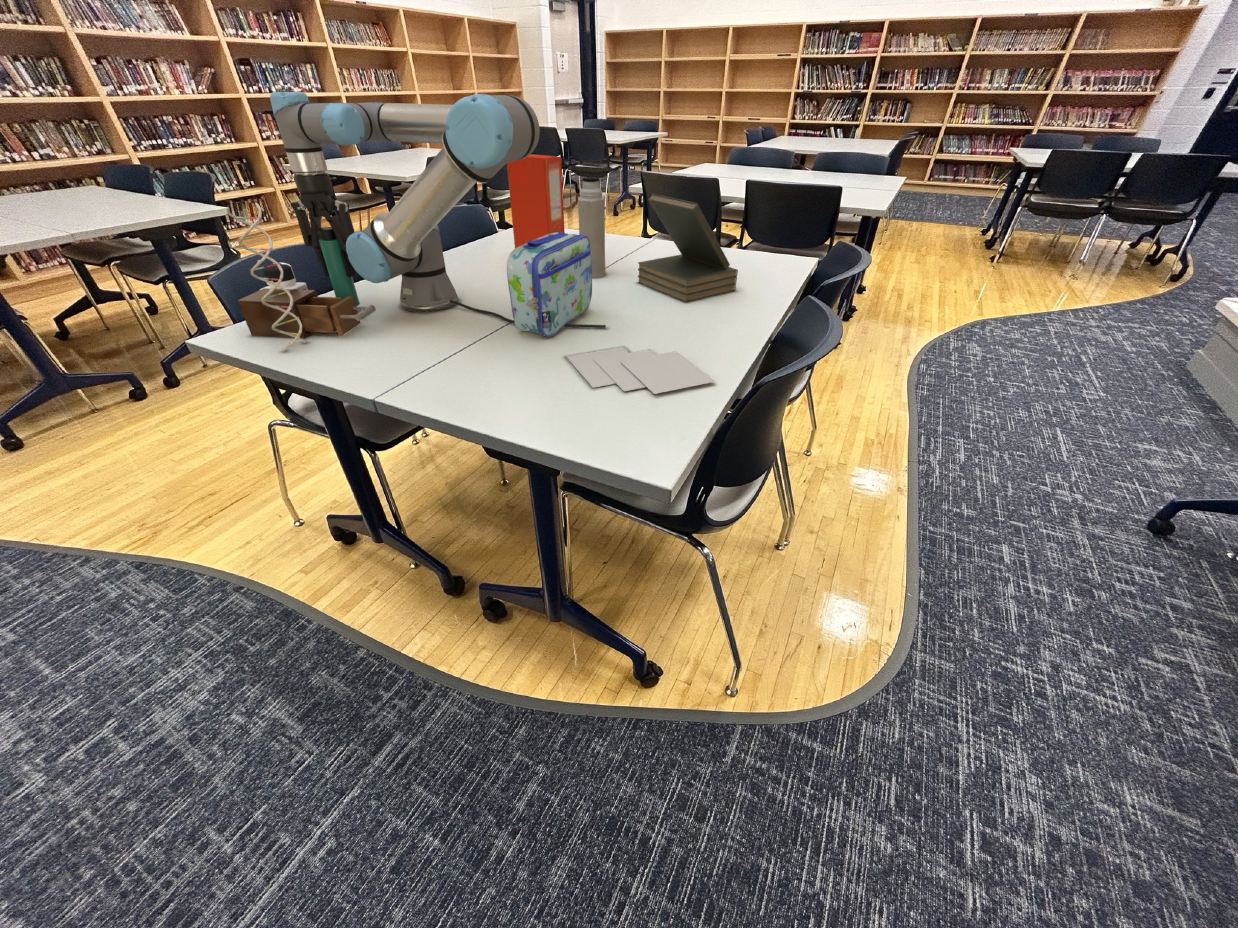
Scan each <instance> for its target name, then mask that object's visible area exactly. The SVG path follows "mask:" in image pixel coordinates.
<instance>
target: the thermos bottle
mask: <svg viewBox="0 0 1238 928" xmlns="http://www.w3.org/2000/svg"><path fill="white" fill-rule="evenodd" d="M599 182H600V178H599V177H596V176H586V177H585V176H584V177H582V188H581V189H580V190H579V197H578V198H577V208H578V209H577V210H578V212H577V213H578V235H579V234H584V235H586V236H587V237H588V239H589V243H590V251H591V264H592V279H597V278H602V277H604V276H606V222H605V221H606V220H605V219H606V218H605V217H606V216H605V214H606V213H605V210H606V209H605V198H604V197H603V190H602V189H601V188H600V183H599Z"/></svg>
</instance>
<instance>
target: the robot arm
mask: <svg viewBox="0 0 1238 928" xmlns="http://www.w3.org/2000/svg"><path fill="white" fill-rule="evenodd" d="M269 101H270V105H271V108H272V112H273V113H272V114H273V117H274V119H275V122H276V125H277V129H278V131H279V134H280V137H281V140H282V143H283V147H284V151H285V154H286V158H287V160H288V164H289V168H290V170H291V172H292V173H295V174H294V175H293V178H294V179H293V181H294V183H295V186H296V189H297V191H298V193H299V195H300V197H299V200H296V201H292V202H290V206H291V208H292V211H293V212H294V213H295V216H296V220H297V224H298V227H299V230H300V234H301V236H302V240H303V243H304V245H305V246H306V247H309V248H310V247H311V248H313V249H314V253H315V255H316V259H317V261H318V263H321V267H322V270H323V273H324V276H325V277H330V276H329V273H328V270H327V266H326V263H325V260H324V256H323V253H322V250H321V246H320V243H319V239H322V238H321V234H320V231H319V228H322V218H324V219H325V221H326V222H327V223H328V224H329V227H332V229H333V231H334V233H335V235H336V237H337V239H338V241H339V243H340V245H341V247H342V248H341V250H340V253H341V256H342V260H343V263H344V267H345V270H346V274H347V277H352V278H353V276H355V275H356V273H357V274H358V275H359V276H360V277H361V278H363V279H364V280H365V281H367V282H371V283H373V284H380V283H387V282H388V281H390V280H392V279H395V278H397V277H399V276H401V282H400V295H399V302H400V306H401V308H402V309H403V310H406V311H409V312H414V313H430V312H438V311H443V310H447V309H449V308H453V307H454V306H455V305H457V306H458V307H461V308H464V309H468V310H470V311H474V312H477V313H481V314H487V315H491V316H494V317H496V318H499V319H501V320H503V321H506V322H507V323H509V324H510V323H511V324H514V325H515V323H514V319H510V318H508V317H505V316H503V315H501V314H499V313H497V312H493V311H490V310H484V309H480V308H476V307H472V306H469V305H467V304H464V303H462V302H459V298H458V293H457V291H456V289H455V287H454V284H453V282H452V281H451V279H450V277H449V275H448V273H447V268H446V262H445V257H444V251H443V245H442V239H441V235H440V233H441V231H440V229H439V223H440V222H441V221H442V220H443V219H444V218H445V216H447V215H448V213H449V212H450V211H451V210H452V209H453V208H454V207H455V206H456V205H457V203H458V202H459V201H461V200H462V199H463V197H465V195H466V194H467V193H468V192H469V191H470V190H471V189H472V188H473V186H475V184H476V183H479V184H488V183H489V181H491V179H493V178H494V176H495V175H496V174H497V173H498V172H499V171H500V170H502V168H503V167H504V166H505V165H507V163H508V162H513V161H517V160H521V159H524V158H526V157H527V156H529V155H530V154H532V153H533V152H534V151H535V149H536V148H537V146H538V143H539V140H540V131H541V129H540V123H539V119H538V116H537V115H536V112H535V110H534V108H532V106H531V105H530V103H528V102H527V101H526V100H525V99H523V98H521V97H519V96H516V95H513V94H512V95H511V94H495V95H494V94H492V95H491V94H486V93H474V94H470V95H467V96H464V97H462V98H460V99H458V100H457V101H456V102H455V103H454V104H437V103H405V102H404V103H403V102H402V103H398V102H381V101H369V102H321V103H320V102H319V103H317V102H315V103H311V101H310V100H309V98H308V95H307V94H306V93H305V92H302V91H273V92H271V93H270V95H269ZM364 142H404V143H418V144H419V143H422V144H424V143H425V144H439V145H440V144H441V145H442V146H443V147H442V148H440V151H438V153H437V154H436V155H435V156H434V158H433V159H432V160H431V161H430V162H429V164H427V166H426V167H425V168H424V169H423V171H422V172H421V173H420V175H418V177H417V178H416V179H415V180H414V181H413V183H412V184H411V185H410V187H408V189H407V190H406V191H405V192H404V193H403V195H402V196H401V197H400V199H399V200H398V201H397V202H396V203H395V204H394V206H393V207H392V208H391V209H390V210H389V212H386V211H384V212H379V213H377V214H376V215H375V216H374V218H373V219H372V220H371V221H370V222H369V223H368V225H367V226H366V227H365V228H364V229H362V230H357V231H355V228H354V225H353V221H352V217H351V215H350V203H349V202H348V201H345V202H343V201H340V200H339V199H338V198H337V197H336V196H335V195H334V194H335V193H334V189H333V188H334V187H333V184H332V180H331V177H330V174H329V173H327V172H326V171H328V166H327V162H326V158H325V155H324V152H323V148H322V144H326V145H339V146H353V145H357V144H359V143H364ZM307 210H308V213H307ZM337 211H338V213H337ZM339 219H340V220H339ZM606 326H607V325H606V324H585V323H584V324H583V323H582V324H581V323H579V324H577V323H576V324H575V323H568V324H566V325H565V326H564V327H563V328H591V329H596V328H597V329H606Z"/></svg>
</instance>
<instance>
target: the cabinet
mask: <svg viewBox="0 0 1238 928" xmlns="http://www.w3.org/2000/svg"><path fill="white" fill-rule="evenodd" d="M263 288H264V289H262V288H260V289H261V290H260V289H258V290H257V291H255V292H254V293H251V294H249V295H247V296H244V297H242V298H239V299H237V304H238V306H239V308H240V312H241V313H242V316H243V318H244V321H245V323H246V326H247V329H248V330H249V332H250V335H251V337H266V338H267V337H269V338H289V339H290V338H292V339H295V338H294V337H292V336H289V335H286V334H282V333H279V332H277V331H274V330H273V329H272V325H273V324H274V323H275V322H276V321H277V320H278V319H279V318H280V317H281V316H282V315H283V314H284V313H285V312H282V311H280V310H278V309H275V308H272V307H268V306H266V305H264V304H263V303H262V302H261V300H262V297H263V296H265V295H266V294H267V293H268V292H269V290H270V289H269V288H265V287H263ZM286 290H290V294H291V296H292V298H293V306H292V308H291V310H290V312H291V313H293V314H294V315H295V316H296V317H299V315H298V312H297V309H296V306H295V305H296V304H298V303H300V302H302V301H303V300H305V299H307V298H309V297H311V296H316V297H319V296H318V293H317V290H315V289H308V290H295V289H286ZM283 292H285V291H284V290H282V289H275V290H274V291H273V292H272V293H271V294H270V295H269V296H272V295H276V294H277V296H274V297H270V298H267V299H265V302H266V303H267V304H270V305H273V306H279V307H280V308H282V309H284V310H286V311H287V309H288V308H284V307H281V306H287V307H289V305H290V297H289V296H288V294H287V293H284V294H281V295H278V294H280V293H283ZM269 296H268V297H269ZM292 319H295V318H294V317H293V316H291V315H289V314H288V315H287V316H286V317H285V318H284V319H283V320H281V321H280V322H279V323H278V324H280V323H283V322H284V324H282V325H279V326H276V327H275V328H276V329H278V330H281V331H284V332H289V333H290V334H291V333H297V334H298V332H299V329H300V325H299V323H298V321H297V320H294V321H290V322H287V321H289V320H292ZM299 320H300V318H299ZM300 321H301V320H300ZM285 322H286V323H285ZM313 333H315V332H307V331H304V329H303V326H302V333H301V335H300V337H299V338H301V339H305V338H307V337H309V336H310V335H312V334H313ZM293 335H294V334H293ZM295 336H297V335H295Z"/></svg>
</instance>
